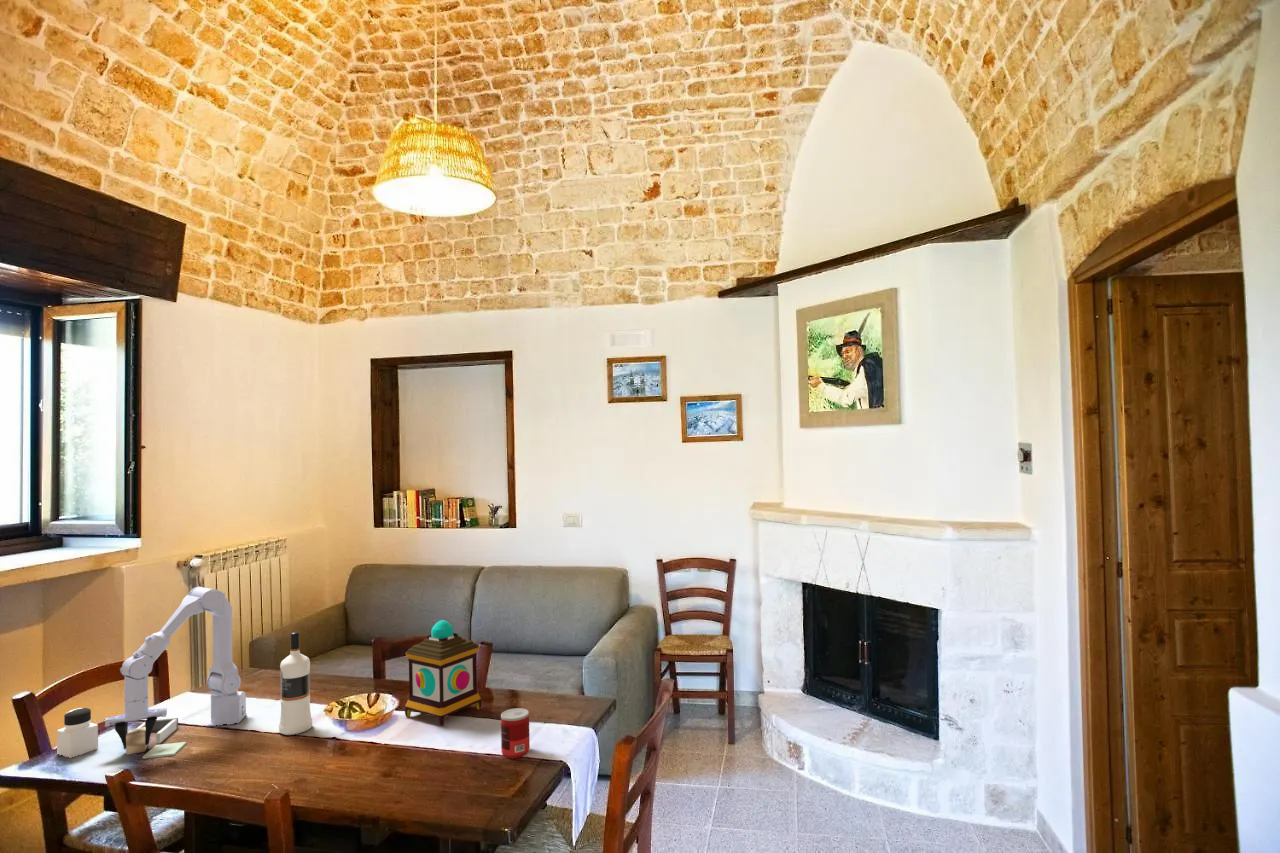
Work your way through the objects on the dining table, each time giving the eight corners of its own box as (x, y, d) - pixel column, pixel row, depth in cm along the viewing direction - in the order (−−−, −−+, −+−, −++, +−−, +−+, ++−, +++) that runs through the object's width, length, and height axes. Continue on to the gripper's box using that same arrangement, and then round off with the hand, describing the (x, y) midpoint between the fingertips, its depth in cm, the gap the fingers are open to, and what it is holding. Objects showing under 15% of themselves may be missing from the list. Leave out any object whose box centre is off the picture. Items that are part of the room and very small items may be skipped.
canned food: (534, 748, 198) (533, 709, 199) (520, 760, 191) (520, 720, 191) (510, 745, 201) (510, 706, 201) (496, 757, 193) (495, 717, 194)
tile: (186, 743, 207) (186, 741, 207) (174, 755, 199) (174, 753, 199) (156, 746, 206) (156, 744, 206) (142, 758, 198) (142, 756, 198)
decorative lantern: (488, 708, 230) (486, 616, 230) (441, 730, 213) (439, 631, 214) (445, 698, 240) (444, 610, 241) (398, 717, 224) (396, 623, 224)
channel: (178, 727, 220) (177, 718, 220) (160, 743, 208) (160, 733, 208) (145, 730, 218) (145, 721, 218) (126, 746, 206) (126, 736, 206)
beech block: (147, 745, 207) (147, 726, 207) (145, 751, 203) (145, 732, 203) (128, 749, 205) (128, 730, 205) (126, 754, 201) (126, 735, 201)
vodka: (311, 732, 213) (310, 634, 214) (277, 738, 210) (276, 637, 210) (313, 722, 222) (311, 627, 222) (280, 727, 218) (279, 630, 219)
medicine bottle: (98, 748, 205) (98, 707, 206) (70, 758, 199) (70, 716, 199) (84, 744, 208) (84, 704, 209) (56, 754, 202) (56, 712, 202)
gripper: (168, 689, 211) (168, 735, 210) (108, 699, 204) (108, 746, 204) (165, 697, 204) (165, 743, 204) (103, 706, 198) (103, 755, 197)
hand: (136, 745), depth 203 cm, fingers closed on beech block, 4 cm apart
